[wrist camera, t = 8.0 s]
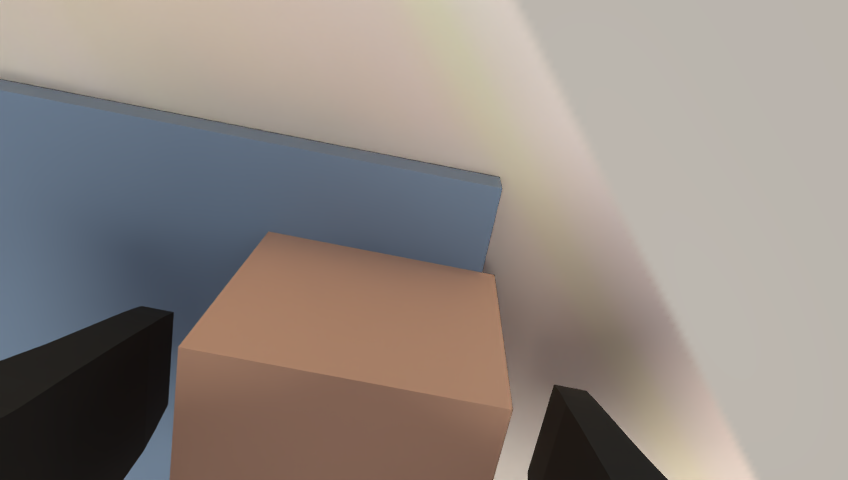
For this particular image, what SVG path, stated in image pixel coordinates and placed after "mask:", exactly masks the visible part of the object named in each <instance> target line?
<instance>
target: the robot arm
mask: <svg viewBox="0 0 848 480" xmlns="http://www.w3.org/2000/svg"><path fill="white" fill-rule="evenodd" d="M173 319H174V312H171V311H166V310H160V309H155V308H150V307H145V306H140V307H136V308H133V309H130V310H128V311H125V312H122V313H120V314H117V315H115V316H112V317H110V318H108V319H105V320H103V321H100V322H98V323H96V324H93V325H91V326H88V327H86V328H84V329H81V330H79V331H76V332H74V333H71V334H69V335H67V336H64V337H62V338H59V339H57V340H54V341H52V342H49V343H47V344H44V345H42V346H39V347H36V348H34V349H31V350H28V351H25V352H23V353H20V354H17V355H14V356H12V357H9V358H6V359H4V360H1V361H0V480H124V478H125V477H126V475H127V474H128V473H129V471H130V470H131V468H132V467H133V466H134V464H135V463H136V461H137V460H138V458H139V457H140V455H141V454H142V453H143V451H144V450H145V448H146V446H147V444H148V442H149V440H150V439H151V437H152V435H153V433H154V431H155V430H156V428H157V426H158V424H159V422H160V420H161V418H162V416H163V414H164V412H165V410H166V408H167V406H168V401H169V384H170V368H171V351H172V335H173ZM528 480H668V479H667V478H666V477H665V476H664V475H663V474H662V473H661V472H660V471H659V470H658V469H657V468H656V467H655V466H654V465H653V464H652V463H651V462H650V461H649V460H648V458H647V457H646V456H645V455H644V454H643V453H642V452H641V451H640V450H639V449H638V448H637V446H636V445H635V444H634V443H633V442H632V441H631V440H630V439H629V438H628V436H627V435H626V434H625V433H624V432H623V431H622V430H621V429H620V427H619V426H618V425H617V424H616V423H615V422H614V421H613V419H612V418H611V417H610V416H609V415H608V414H607V413H606V412H605V410H604V409H603V408H602V407H601V406H600V405H599V404H598V403H597V401H596V400H595V399H594V398H593V397H592V396H591V395H590V394H589V393H588V392H587V391H584V390H579V389H574V388H569V387H563V386H558V385H554V387H553V390H552V394H551V397H550V400H549V404H548V407H547V410H546V413H545V417H544V420H543V423H542V427H541V430H540V433H539V437H538V440H537V443H536V446H535V450H534V453H533V456H532V460H531V463H530V466H529V470H528Z"/></svg>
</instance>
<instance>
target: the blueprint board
mask: <svg viewBox="0 0 848 480" xmlns="http://www.w3.org/2000/svg"><path fill="white" fill-rule="evenodd" d="M501 192H502V185H501V181H500V177H496V176H491V175H486V174H481V173H476V172H470V171H465V170H460V169H455V168H450V167H445V166H440V165H435V164H430V163H425V162H419V161H414V160H409V159H404V158H399V157H394V156H389V155H384V154H379V153H374V152H368V151H363V150H358V149H353V148H348V147H343V146H338V145H333V144H328V143H323V142H317V141H312V140H307V139H302V138H297V137H292V136H287V135H282V134H277V133H272V132H266V131H261V130H256V129H251V128H246V127H241V126H236V125H231V124H226V123H221V122H215V121H210V120H205V119H200V118H195V117H190V116H185V115H180V114H175V113H170V112H164V111H159V110H154V109H149V108H144V107H139V106H134V105H129V104H124V103H119V102H113V101H108V100H103V99H98V98H93V97H88V96H83V95H78V94H73V93H68V92H62V91H57V90H52V89H47V88H42V87H37V86H32V85H27V84H22V83H17V82H11V81H6V80H1V79H0V361H1V360H4V359H6V358H9V357H12V356H14V355H17V354H20V353H23V352H25V351H28V350H31V349H34V348H36V347H39V346H42V345H44V344H47V343H49V342H52V341H54V340H57V339H59V338H62V337H64V336H67V335H69V334H71V333H74V332H76V331H79V330H81V329H84V328H86V327H88V326H91V325H93V324H96V323H98V322H100V321H103V320H105V319H108V318H110V317H112V316H115V315H117V314H120V313H122V312H125V311H128V310H130V309H133V308H136V307H140V306H145V307H150V308H155V309H160V310H166V311H171V312H174V319H173V335H172V351H171V368H170V384H169V401H168V406H167V408H166V410H165V412H164V414H163V416H162V418H161V420H160V422H159V424H158V426H157V428H156V430H155V431H154V433H153V435H152V437H151V439H150V440H149V442H148V444H147V446H146V448H145V450H144V451H143V453H142V454H141V455H140V457H139V458H138V460H137V461H136V463H135V464H134V466H133V467H132V468H131V470H130V471H129V473H128V474H127V475H126V477H125V478H124V480H170V466H171V450H172V435H173V419H174V403H175V388H176V372H177V357H178V347H179V345H180V344H181V343H182V341H183V340H184V339H185V338H186V336H187V335H188V334H189V332H190V331H191V330H192V329H193V327H194V326H195V325H196V324H197V322H198V321H199V320H200V318H201V317H202V316H203V315H204V313H205V312H206V311H207V309H208V308H209V307H210V306H211V304H212V303H213V302H214V301H215V299H216V298H217V297H218V295H219V294H220V293H221V292H222V290H223V289H224V288H225V286H226V285H227V284H228V283H229V281H230V280H231V279H232V277H233V276H234V275H235V274H236V272H237V271H238V270H239V269H240V267H241V266H242V265H243V263H244V262H245V261H246V260H247V258H248V257H249V256H250V254H251V253H252V252H253V251H254V249H255V248H256V247H257V246H258V244H259V243H260V242H261V240H262V239H263V238H264V237H265V235H266V234H267V233H268V231H269V232H274V233H279V234H284V235H290V236H295V237H300V238H305V239H310V240H316V241H321V242H326V243H331V244H336V245H341V246H347V247H352V248H357V249H362V250H367V251H373V252H378V253H383V254H388V255H393V256H399V257H404V258H409V259H414V260H419V261H425V262H430V263H435V264H440V265H445V266H451V267H456V268H461V269H466V270H471V271H477V272H482V271H483V266H484V262H485V258H486V254H487V250H488V246H489V241H490V237H491V233H492V229H493V225H494V221H495V217H496V212H497V208H498V204H499V200H500V196H501Z"/></svg>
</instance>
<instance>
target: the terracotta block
mask: <svg viewBox="0 0 848 480" xmlns="http://www.w3.org/2000/svg"><path fill="white" fill-rule="evenodd" d="M512 411H513V407H512V400H511V392H510V385H509V378H508V370H507V363H506V356H505V348H504V341H503V334H502V326H501V319H500V312H499V304H498V297H497V290H496V282H495V275H492V274H487V273H482V272H477V271H471V270H466V269H461V268H456V267H451V266H445V265H440V264H435V263H430V262H425V261H419V260H414V259H409V258H404V257H399V256H393V255H388V254H383V253H378V252H373V251H367V250H362V249H357V248H352V247H347V246H341V245H336V244H331V243H326V242H321V241H316V240H310V239H305V238H300V237H295V236H290V235H284V234H279V233H274V232H269V231H268V233H267V234H266V235H265V237H264V238H263V239H262V240H261V242H260V243H259V244H258V246H257V247H256V248H255V249H254V251H253V252H252V253H251V254H250V256H249V257H248V258H247V260H246V261H245V262H244V263H243V265H242V266H241V267H240V269H239V270H238V271H237V272H236V274H235V275H234V276H233V277H232V279H231V280H230V281H229V283H228V284H227V285H226V286H225V288H224V289H223V290H222V292H221V293H220V294H219V295H218V297H217V298H216V299H215V301H214V302H213V303H212V304H211V306H210V307H209V308H208V309H207V311H206V312H205V313H204V315H203V316H202V317H201V318H200V320H199V321H198V322H197V324H196V325H195V326H194V327H193V329H192V330H191V331H190V332H189V334H188V335H187V336H186V338H185V339H184V340H183V341H182V343H181V344H180V345H179V347H178V357H177V372H176V388H175V403H174V419H173V435H172V450H171V466H170V480H493V479H494V475H495V472H496V468H497V464H498V461H499V457H500V454H501V450H502V447H503V443H504V440H505V436H506V432H507V429H508V425H509V422H510V418H511V415H512Z"/></svg>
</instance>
